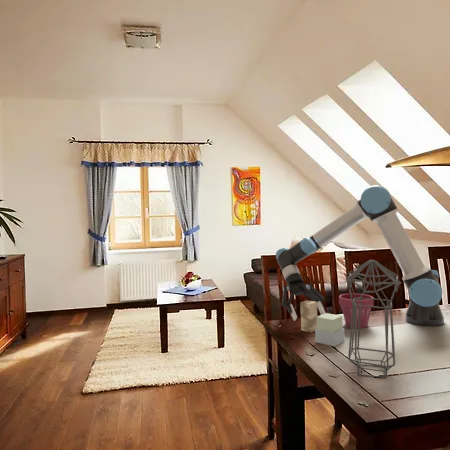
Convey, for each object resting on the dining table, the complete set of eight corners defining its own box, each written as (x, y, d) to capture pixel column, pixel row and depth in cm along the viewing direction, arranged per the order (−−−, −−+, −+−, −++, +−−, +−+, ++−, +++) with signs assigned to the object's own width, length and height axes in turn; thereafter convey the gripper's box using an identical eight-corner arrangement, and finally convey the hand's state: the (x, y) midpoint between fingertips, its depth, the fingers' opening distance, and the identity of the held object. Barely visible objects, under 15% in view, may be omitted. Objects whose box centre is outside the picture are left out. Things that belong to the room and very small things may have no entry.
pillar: (317, 329, 162) (316, 301, 162) (311, 332, 158) (310, 304, 158) (307, 327, 165) (306, 300, 165) (301, 330, 162) (300, 302, 161)
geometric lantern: (347, 359, 128) (347, 256, 127) (398, 366, 122) (399, 258, 121) (343, 378, 113) (343, 262, 112) (401, 386, 107) (401, 264, 106)
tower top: (342, 328, 146) (342, 315, 146) (333, 333, 141) (332, 319, 141) (326, 325, 151) (326, 313, 151) (316, 329, 147) (316, 316, 146)
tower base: (344, 341, 147) (344, 328, 146) (334, 346, 141) (334, 333, 141) (325, 337, 152) (325, 324, 152) (315, 342, 146) (315, 329, 146)
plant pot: (374, 322, 170) (373, 293, 170) (374, 331, 157) (373, 300, 157) (341, 319, 175) (340, 292, 175) (338, 328, 162) (337, 299, 162)
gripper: (314, 279, 181) (332, 318, 167) (265, 284, 174) (280, 325, 159) (319, 270, 175) (338, 309, 161) (270, 274, 168) (285, 315, 154)
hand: (310, 317), depth 160 cm, fingers open, 13 cm apart
